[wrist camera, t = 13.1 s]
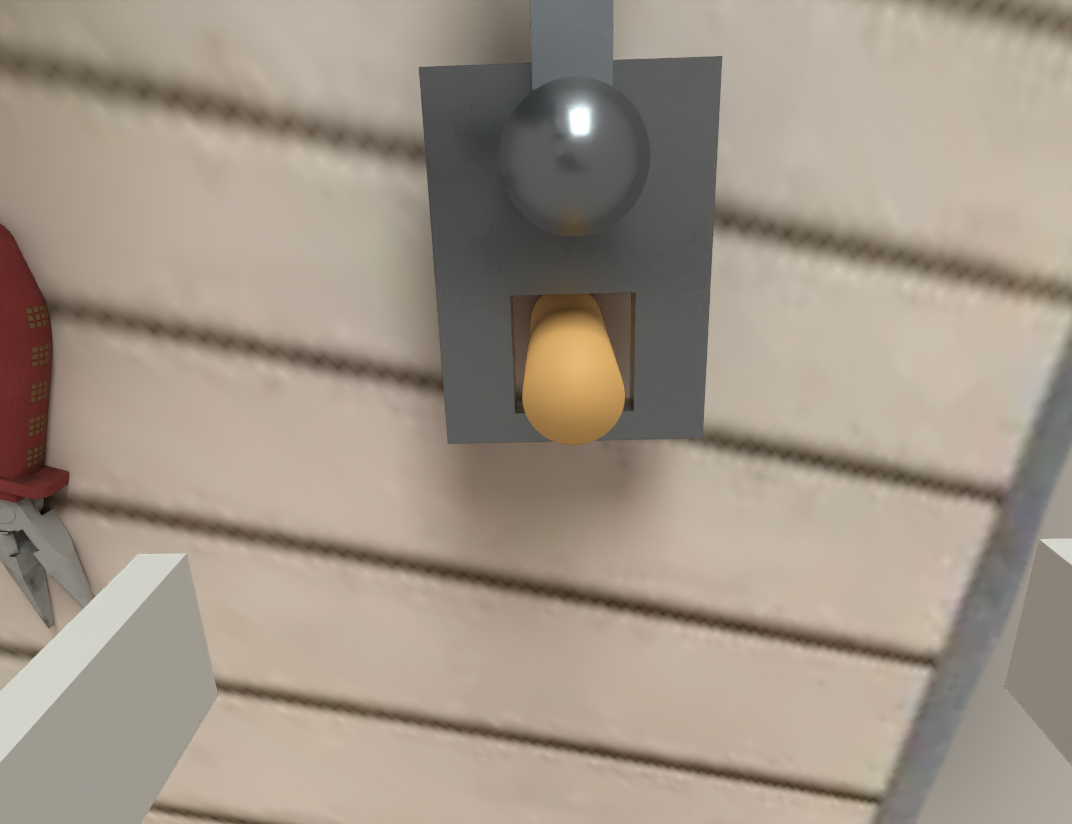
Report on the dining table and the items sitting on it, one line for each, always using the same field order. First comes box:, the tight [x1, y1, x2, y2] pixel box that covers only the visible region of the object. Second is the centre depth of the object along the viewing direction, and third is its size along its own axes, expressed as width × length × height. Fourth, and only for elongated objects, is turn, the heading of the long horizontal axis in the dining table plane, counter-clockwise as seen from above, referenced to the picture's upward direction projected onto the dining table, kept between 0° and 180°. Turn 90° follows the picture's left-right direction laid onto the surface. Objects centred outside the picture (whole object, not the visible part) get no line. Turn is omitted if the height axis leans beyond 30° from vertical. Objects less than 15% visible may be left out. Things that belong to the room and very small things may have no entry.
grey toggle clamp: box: [419, 0, 722, 444], centre depth 26 cm, size 10×23×10 cm, turn 2°
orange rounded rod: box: [522, 294, 625, 445], centre depth 28 cm, size 3×3×11 cm
